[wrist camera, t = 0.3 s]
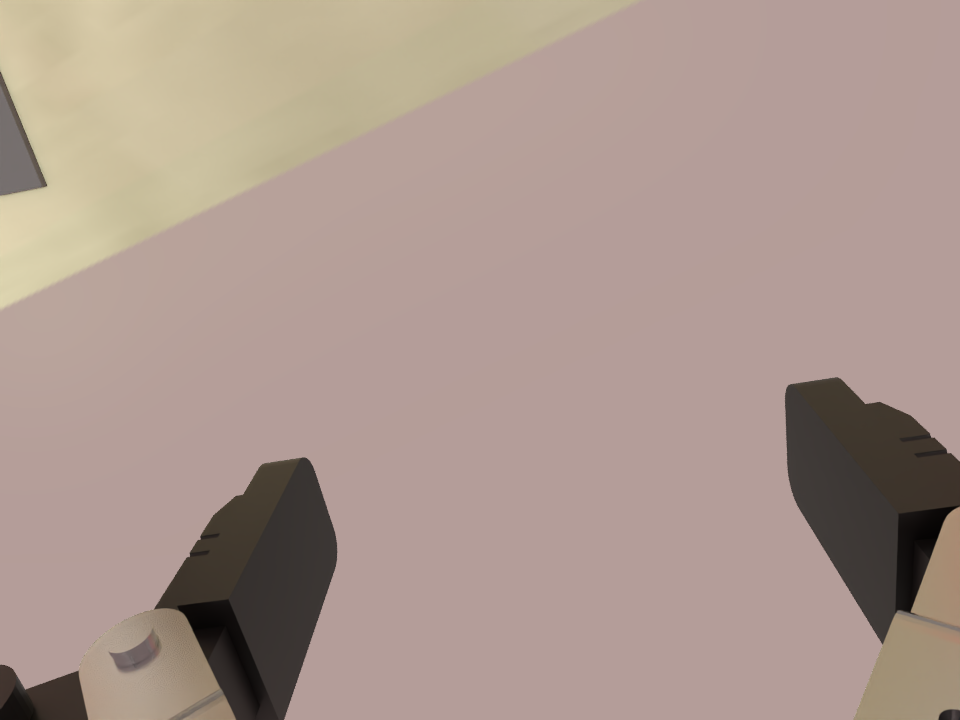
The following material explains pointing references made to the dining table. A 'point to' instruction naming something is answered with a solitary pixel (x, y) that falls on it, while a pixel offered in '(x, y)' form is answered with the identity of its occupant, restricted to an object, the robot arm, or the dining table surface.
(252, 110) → the dining table surface
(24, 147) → the mat
